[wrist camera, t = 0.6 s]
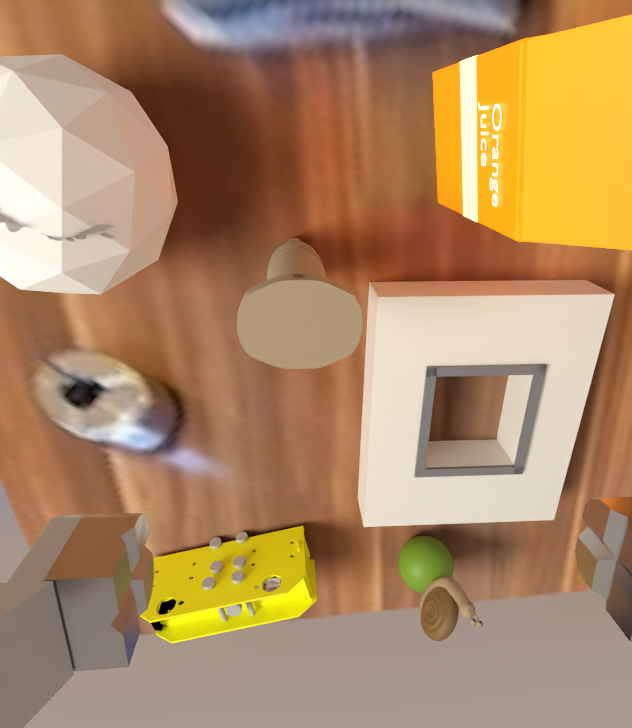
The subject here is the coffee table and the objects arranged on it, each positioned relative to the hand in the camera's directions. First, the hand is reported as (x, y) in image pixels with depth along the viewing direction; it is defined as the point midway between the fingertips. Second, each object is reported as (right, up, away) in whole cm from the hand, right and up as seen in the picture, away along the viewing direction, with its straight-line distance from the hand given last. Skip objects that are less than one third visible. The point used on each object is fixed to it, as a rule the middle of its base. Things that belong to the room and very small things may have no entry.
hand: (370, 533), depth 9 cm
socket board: (+12, 0, +36) cm, 38 cm away
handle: (-3, +12, +30) cm, 32 cm away
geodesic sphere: (-17, +17, +27) cm, 36 cm away
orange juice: (+11, +20, +27) cm, 35 cm away
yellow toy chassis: (-10, -16, +43) cm, 47 cm away
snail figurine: (+10, -15, +44) cm, 47 cm away
